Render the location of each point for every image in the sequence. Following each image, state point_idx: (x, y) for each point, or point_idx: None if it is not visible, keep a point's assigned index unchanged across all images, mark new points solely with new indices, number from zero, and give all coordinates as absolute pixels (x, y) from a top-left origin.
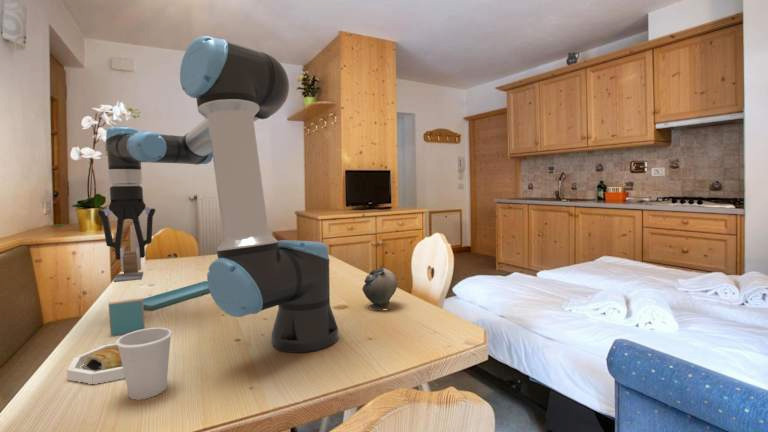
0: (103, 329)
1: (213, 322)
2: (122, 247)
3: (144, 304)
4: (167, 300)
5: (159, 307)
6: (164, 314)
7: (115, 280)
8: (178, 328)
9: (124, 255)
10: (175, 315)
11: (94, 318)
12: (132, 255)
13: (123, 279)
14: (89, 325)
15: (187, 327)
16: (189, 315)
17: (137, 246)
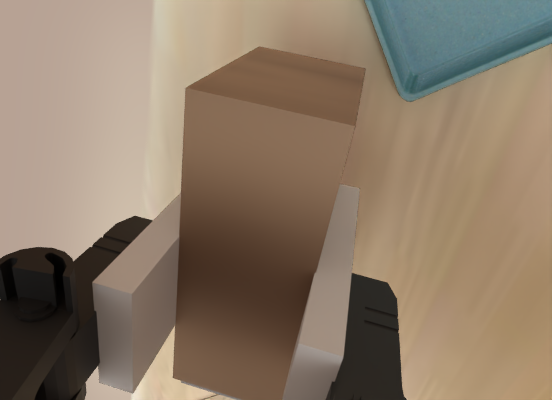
0: None
1: (523, 397)
2: (116, 334)
3: (383, 48)
4: (509, 58)
5: (451, 67)
6: (430, 195)
7: (190, 383)
8: (412, 367)
9: (182, 326)
10: (460, 240)
11: (178, 40)
12: (252, 375)
13: (224, 394)
14: (171, 135)
15: (437, 378)
16: (502, 278)
17: (299, 391)
